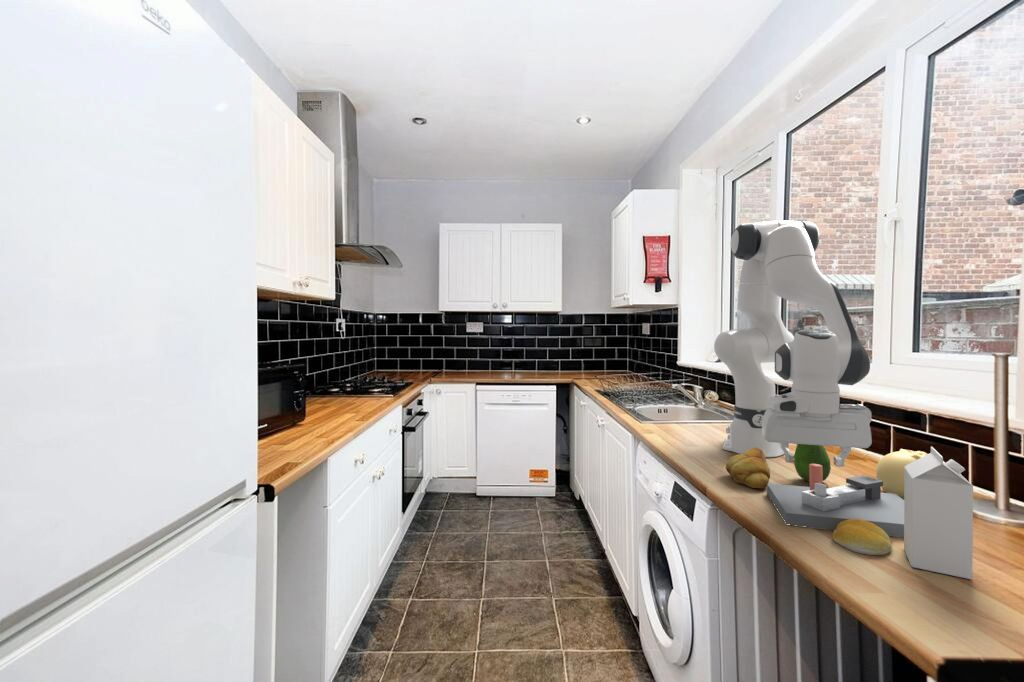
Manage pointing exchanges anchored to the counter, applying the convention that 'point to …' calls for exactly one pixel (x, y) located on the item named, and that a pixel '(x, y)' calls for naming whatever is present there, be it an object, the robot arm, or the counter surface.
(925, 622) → the counter surface
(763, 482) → the bread roll
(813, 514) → the board
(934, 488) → the milk carton
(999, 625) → the counter surface
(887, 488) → the sculpture
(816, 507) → the link
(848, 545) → the bread roll
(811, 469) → the peg
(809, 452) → the avocado
